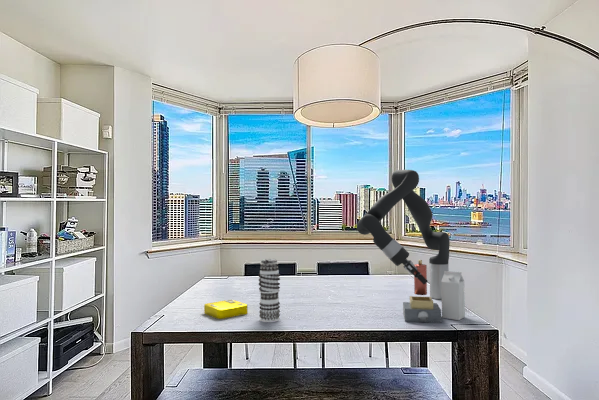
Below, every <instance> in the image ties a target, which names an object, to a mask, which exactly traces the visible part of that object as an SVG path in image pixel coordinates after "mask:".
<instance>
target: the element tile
mask: <svg viewBox="0 0 599 400" xmlns="http://www.w3.org/2000/svg"><path fill="white" fill-rule="evenodd" d="M203 308H204V309H203V314H204V313H205V315H206V316H209V317H211V316H212V318H214V319H216V320H223V319H229V318H233V317H238V316H239V317H240V316H244V315H247V314H248V312H249V311H248V304H247V303H245V302H241V301H239V300H234V299H233V298H232V299H226V300H220V301H219V300H218V301H214V302H209V303H207V302H206V303H205V304H204V307H203Z"/></svg>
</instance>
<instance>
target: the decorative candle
mask: <svg viewBox="0 0 599 400" xmlns="http://www.w3.org/2000/svg"><path fill="white" fill-rule="evenodd" d="M279 263H280V261H279V262H278V261H277V259H276V258H263V259H261V261H260V262H259V264H260V267H259V269H260V270H259V273H258V274H257V276H258V277H259V278H258V282H259V283H258V286H259V287H258V289H259V293H260V298H259V301H260V302H259V303H258V304H259V307H258V308H259V311H258V313H259V321H260V322H264V323H273V322H279V321H280V320H281V318H280V316H281V313H280V312H281V311H280V308H281V307H280V305H281V304H280V298H279V297H280V296H279V292H280V288H281V286H280V285H281V284H280V282H279V281H280V280H281V278H280V276H281V274H280V273H279V272H280V270H279Z"/></svg>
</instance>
